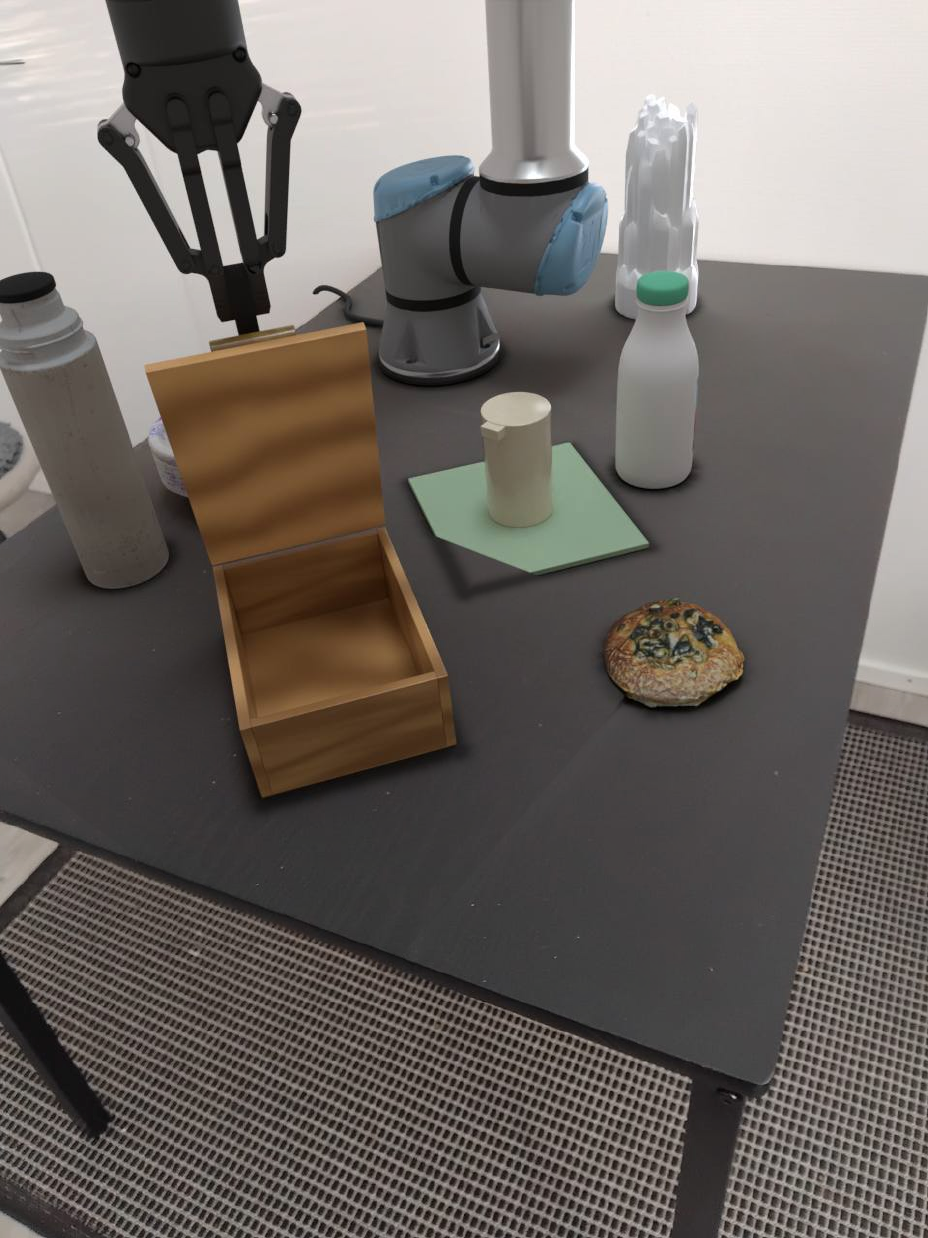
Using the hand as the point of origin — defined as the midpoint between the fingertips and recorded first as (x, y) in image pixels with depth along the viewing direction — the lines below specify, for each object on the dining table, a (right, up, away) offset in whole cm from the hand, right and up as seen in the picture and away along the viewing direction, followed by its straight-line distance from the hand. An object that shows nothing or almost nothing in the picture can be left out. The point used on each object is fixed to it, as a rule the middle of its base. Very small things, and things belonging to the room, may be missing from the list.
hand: (254, 358), depth 72 cm
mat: (+21, -9, +25) cm, 33 cm away
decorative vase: (+41, +23, +60) cm, 76 cm away
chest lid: (+2, -7, +1) cm, 8 cm away
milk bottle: (+35, -4, +29) cm, 45 cm away
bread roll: (+32, -23, +7) cm, 40 cm away
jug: (+21, -8, +24) cm, 33 cm away
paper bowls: (-9, -5, +33) cm, 34 cm away
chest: (+5, -25, +7) cm, 26 cm away
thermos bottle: (-17, -14, +23) cm, 32 cm away
